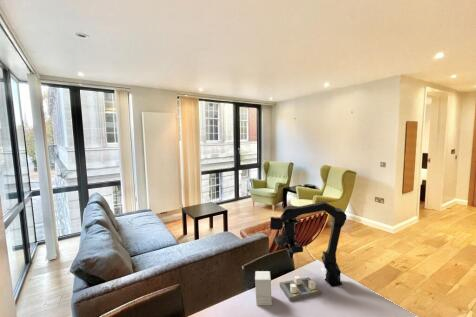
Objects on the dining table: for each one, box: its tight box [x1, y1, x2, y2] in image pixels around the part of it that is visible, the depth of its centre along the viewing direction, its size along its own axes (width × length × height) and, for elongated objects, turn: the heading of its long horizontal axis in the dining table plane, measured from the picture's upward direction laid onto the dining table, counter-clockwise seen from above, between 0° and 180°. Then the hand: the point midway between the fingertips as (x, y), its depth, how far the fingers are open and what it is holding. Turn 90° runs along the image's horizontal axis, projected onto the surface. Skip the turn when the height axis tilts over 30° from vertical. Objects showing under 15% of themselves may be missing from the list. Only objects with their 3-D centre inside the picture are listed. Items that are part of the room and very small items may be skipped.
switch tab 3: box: [308, 279, 316, 290], centre depth 115 cm, size 2×2×3 cm
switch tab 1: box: [290, 284, 297, 294], centre depth 112 cm, size 2×2×3 cm
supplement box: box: [254, 270, 273, 306], centre depth 110 cm, size 7×7×13 cm
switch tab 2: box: [293, 275, 301, 285], centre depth 119 cm, size 2×2×3 cm
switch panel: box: [278, 276, 323, 302], centre depth 117 cm, size 17×12×2 cm
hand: (290, 258), depth 126 cm, fingers closed
